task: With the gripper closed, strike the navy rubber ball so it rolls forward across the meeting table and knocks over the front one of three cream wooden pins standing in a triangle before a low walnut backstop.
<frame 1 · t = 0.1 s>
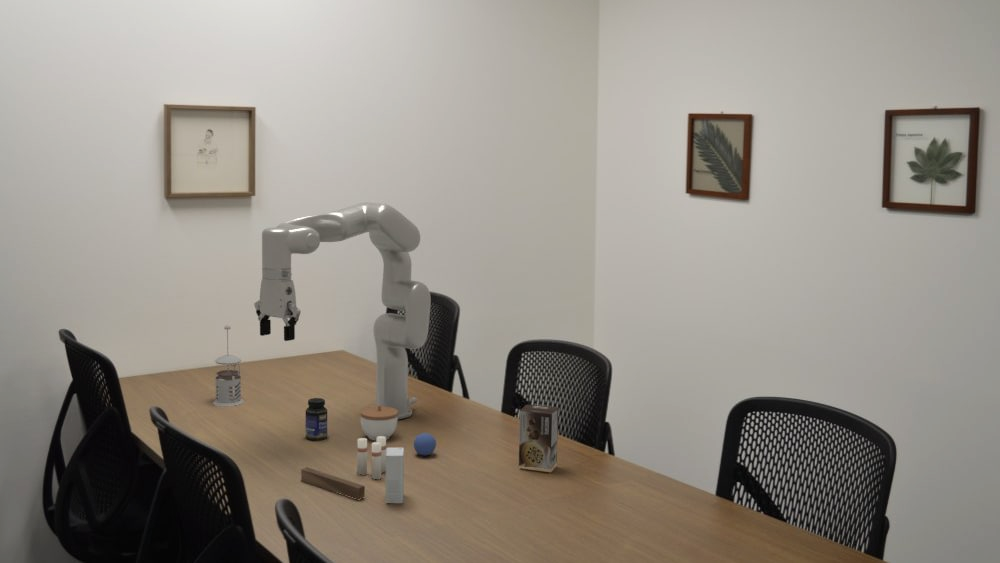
hand: (277, 337, 259), 31 cm above the table, tool pointing down, fingers open, 9 cm apart
skincare box: (394, 500, 230), on the table
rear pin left: (376, 477, 244), on the table
lidded jar: (379, 438, 276), on the table
pill bottle: (316, 438, 274), on the table
backstop: (332, 489, 235), on the table
front pin: (380, 471, 249), on the table
ball: (424, 444, 262), on the table
coffee box: (537, 468, 254), on the table
french press: (229, 402, 308), on the table
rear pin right: (362, 473, 247), on the table
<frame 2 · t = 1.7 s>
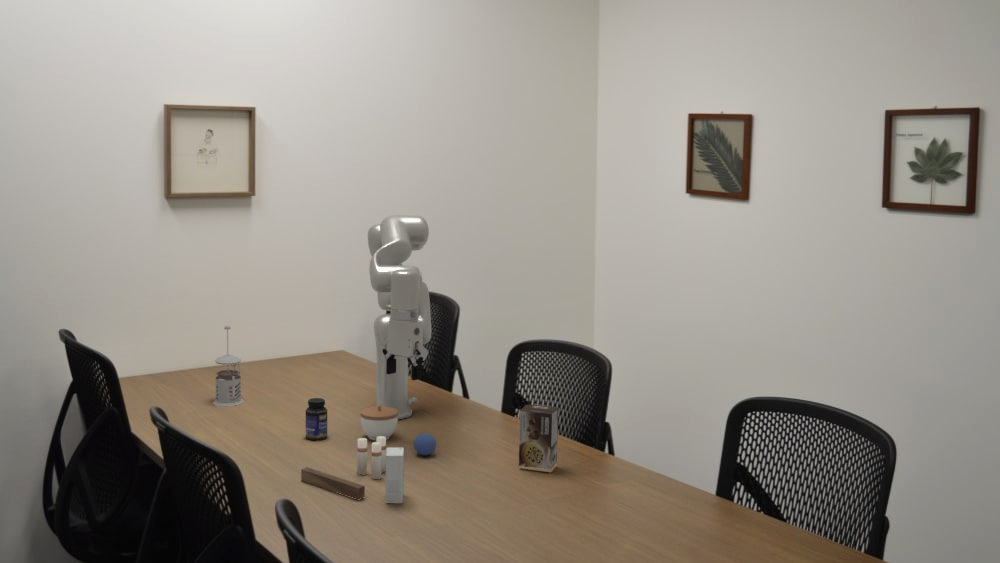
hand: (403, 376, 264), 20 cm above the table, tool pointing down, fingers open, 9 cm apart
nothing on the table moved.
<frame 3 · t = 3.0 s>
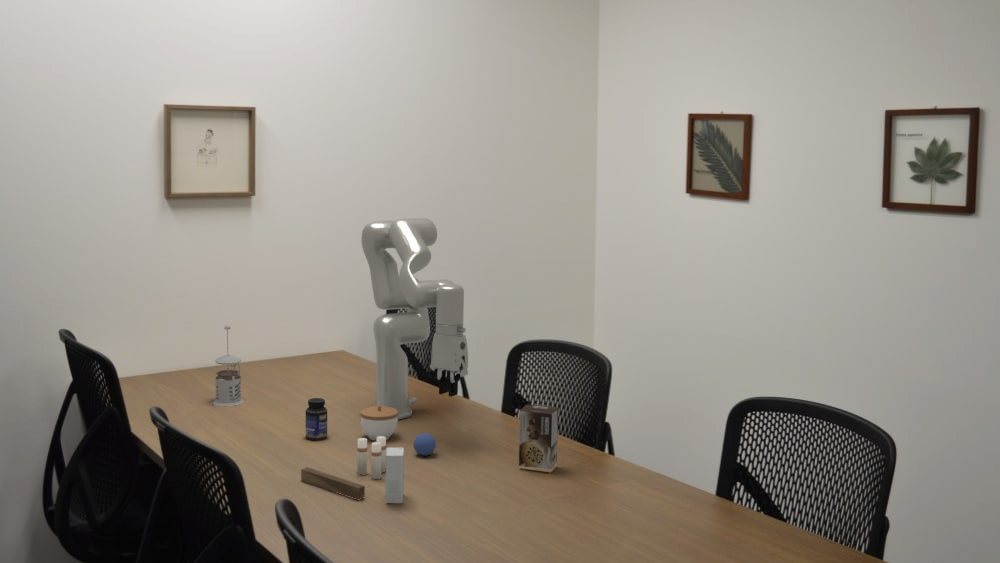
hand: (448, 393, 267), 15 cm above the table, tool pointing down, fingers closed
nothing on the table moved.
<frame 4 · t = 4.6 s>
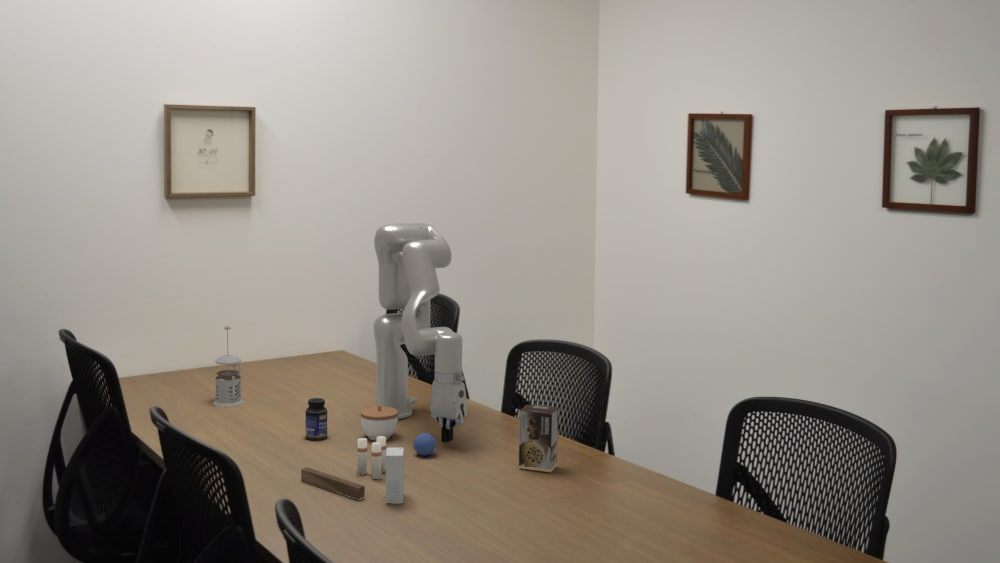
hand: (447, 441, 269), 2 cm above the table, tool pointing down, fingers closed
nothing on the table moved.
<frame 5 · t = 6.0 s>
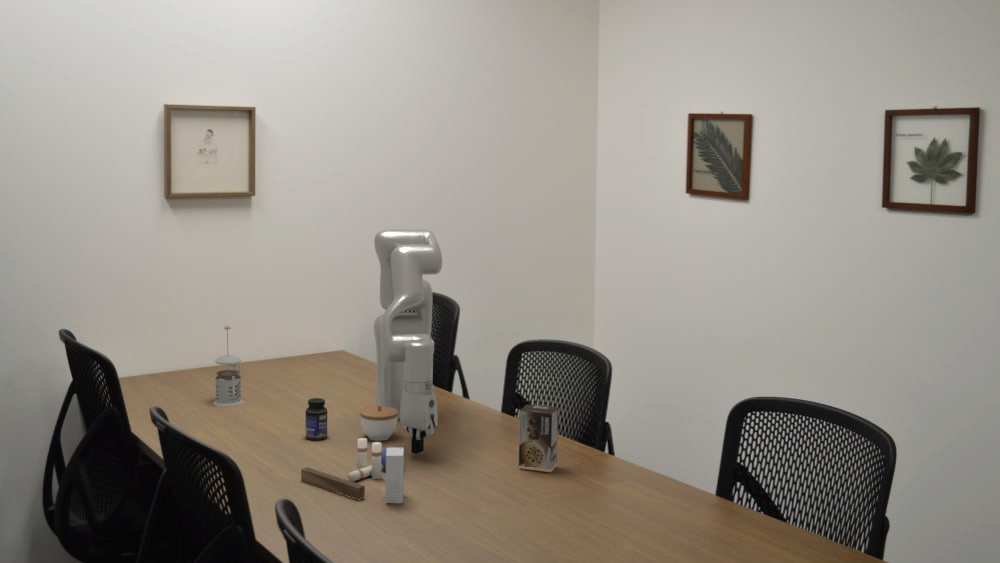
hand: (417, 452, 259), 2 cm above the table, tool pointing down, fingers closed
front pin: (376, 468, 247), point 1 cm above the table, tilted 89°
ball: (391, 458, 250), on the table
everything else where it was.
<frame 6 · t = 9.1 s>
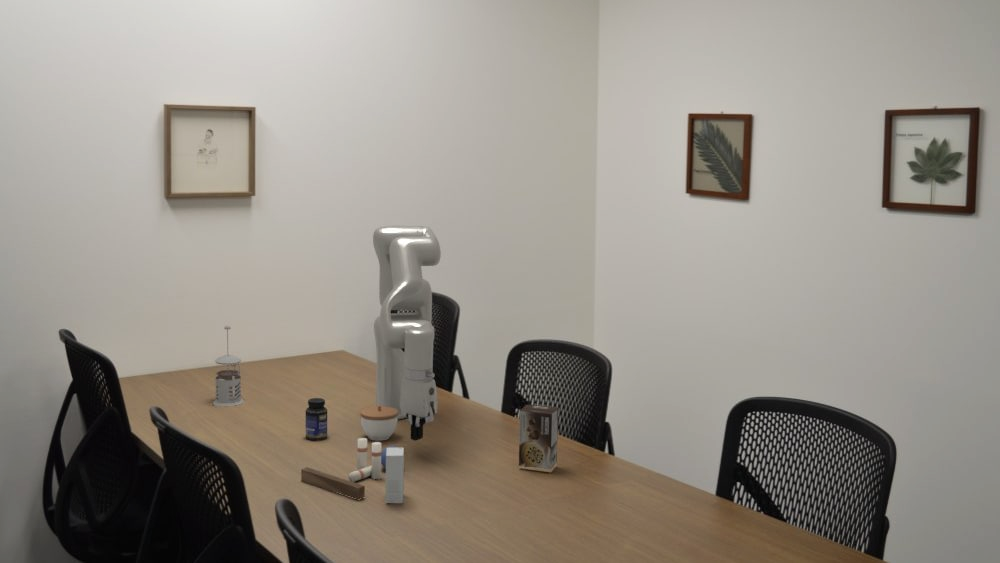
hand: (416, 438, 260), 5 cm above the table, tool pointing down, fingers closed
front pin: (377, 468, 247), point 1 cm above the table, tilted 90°
everything else where it was.
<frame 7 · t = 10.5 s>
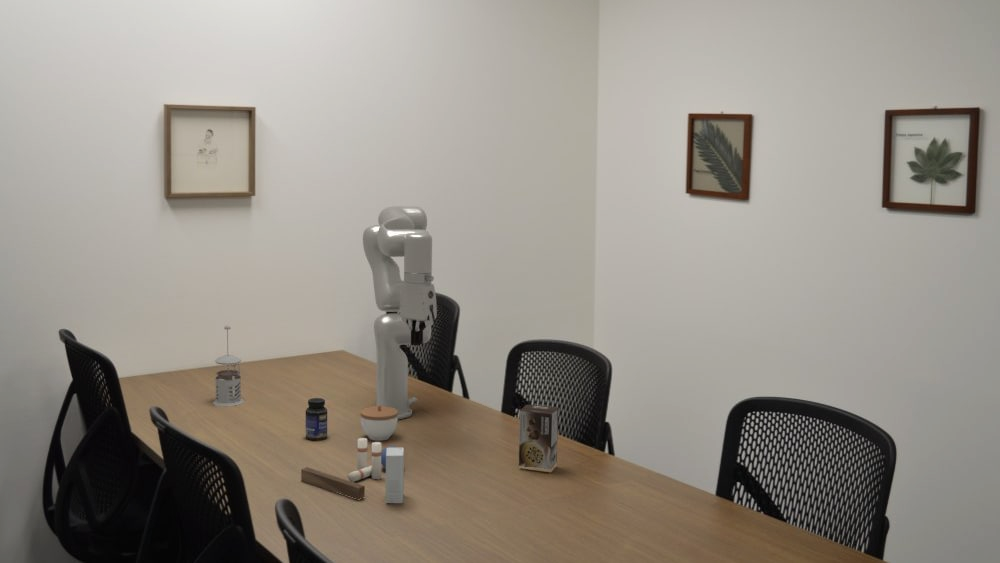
hand: (416, 344, 265), 29 cm above the table, tool pointing down, fingers closed
nothing on the table moved.
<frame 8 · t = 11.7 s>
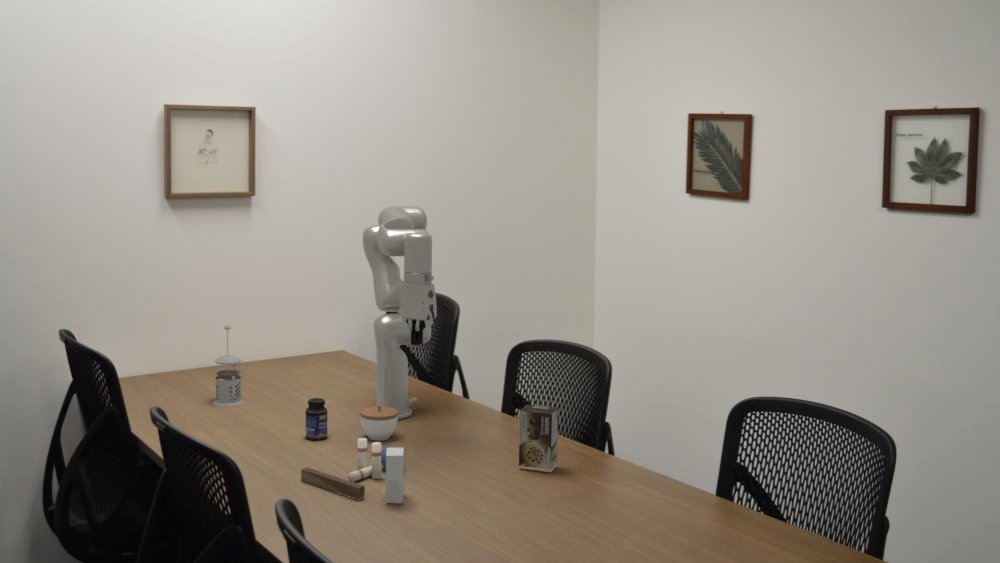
hand: (416, 344, 265), 29 cm above the table, tool pointing down, fingers closed
nothing on the table moved.
at the end: front pin tilted 90°; front pin never touched the robot; ball moved 14.2 cm from its start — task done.
